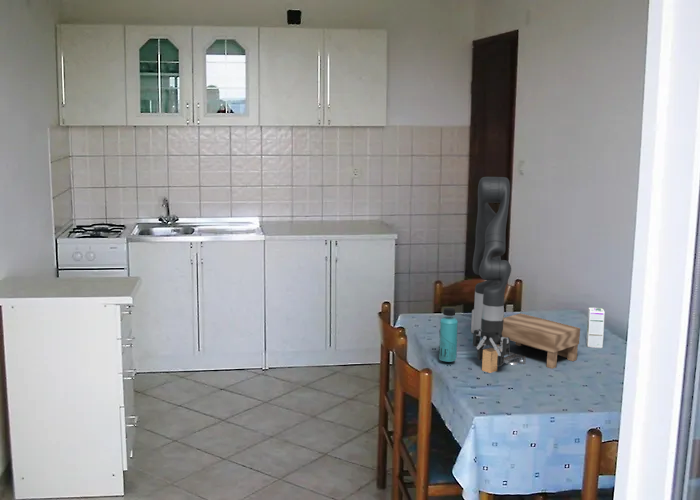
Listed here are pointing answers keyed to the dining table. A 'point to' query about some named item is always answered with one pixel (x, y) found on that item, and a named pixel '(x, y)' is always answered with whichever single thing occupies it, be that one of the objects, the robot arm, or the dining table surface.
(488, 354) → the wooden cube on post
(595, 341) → the syrup box
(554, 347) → the small wooden stool
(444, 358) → the beverage bottle
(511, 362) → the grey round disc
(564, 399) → the dining table surface
